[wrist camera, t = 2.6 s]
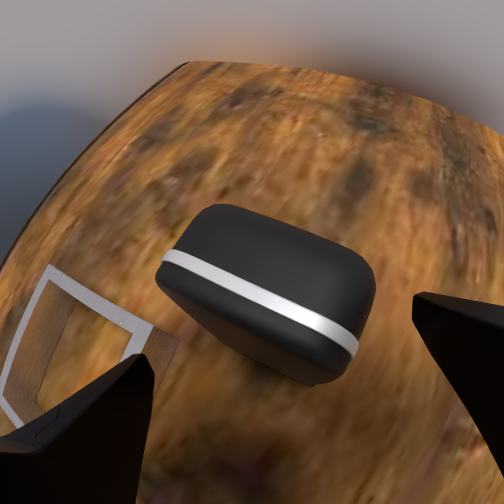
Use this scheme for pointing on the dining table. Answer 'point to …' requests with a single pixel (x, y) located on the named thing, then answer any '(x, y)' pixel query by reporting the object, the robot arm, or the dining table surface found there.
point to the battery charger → (271, 291)
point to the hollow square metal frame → (48, 333)
